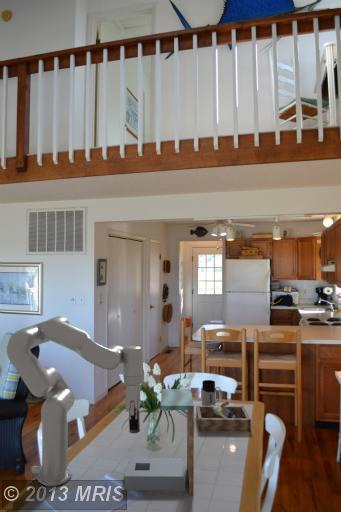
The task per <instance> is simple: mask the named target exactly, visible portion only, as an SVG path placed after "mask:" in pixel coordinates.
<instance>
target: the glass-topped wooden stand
mask: <svg viewBox="0 0 341 512" xmlns="http://www.w3.org/2000/svg"><path fill="white" fill-rule="evenodd" d="M160 394H161V395H160V411H186V415H187V416H186V470H187V471H186V473H187V474H186V475H187V482H188V483H187V485H188V486H187V487H188V495H189V496H194V489H195V487H194V484H195V482H194V481H195V479H194V473H195V472H194V465H195V464H194V459H195V458H194V453H195V451H194V448H195V445H194V441H195V437H194V436H195V434H194V433H195V431H194V429H195V427H194V425H195V409H194V408H195V405H194V399H193V398H194V397H193V393H192V389H191V388H189V389H188V388H162V389H161V393H160Z"/></svg>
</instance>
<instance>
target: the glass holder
mask: <svg viewBox="0 0 341 512" xmlns="http://www.w3.org/2000/svg"><path fill="white" fill-rule="evenodd" d="M201 384H202V386H201V387H202V388H201V406H211V405H215V406H216V404H217V403H218V402H220V399H221V395H222V389H221V388H220V386H216V381H214V380H211V379H205V380H204V379H203V380H202V383H201ZM217 389H218V390H219V396H218V398H217V400H216V392H217Z"/></svg>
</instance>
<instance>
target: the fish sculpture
mask: <svg viewBox="0 0 341 512" xmlns="http://www.w3.org/2000/svg"><path fill="white" fill-rule="evenodd" d="M224 406H230V402H228V401H225V402H222V404H220V405H216V404H215V405H211V407H212V408H213V409H214V413H215V414H217V415H216V416H215V418H220V417H221V418H236V417H235V416H234V414H233V413H232V412H230V411H229V410H227V409H226V408H224Z"/></svg>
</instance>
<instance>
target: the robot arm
mask: <svg viewBox="0 0 341 512" xmlns="http://www.w3.org/2000/svg"><path fill="white" fill-rule="evenodd" d="M49 342H53V343H55V344H57V345H60V346H62V347H64V348H66V349H69V350H71V351H73V352H75V353H76V354H77V355H78V356H80V357H81V358H82V359H84V360H85V361H86V362H89V363H90V364H92V365H94V366H96V367H98V368H101V369H103V370H107V371H113V370H115V369H117V368H118V367H119V365H121V364H122V365H123V367H122V368H123V370H122V372H123V375H122V376H123V385H125V411H126V412H127V413H129V409H130V419H129V418H128V427H129V426H130V430H138V419H137V411H138V410H139V411H140V405H141V385H142V384H144V366H143V363H144V362H143V359H144V358H143V349H142V347H141V346H137V345H128V346H126V345H125V346H124V345H110V346H109V347H108V348H107V347H104V346H103V345H100V344H99V343H97V342H96V341H94V339H92V338H91V337H90V335H89V334H88V333H87V332H86V331H85V330H83V329H81V328H79V327H76V326H74V325H72V324H70V322H69V320H68V319H67V318H66V317H63V316H55V317H52V318H49V319H47V320H44V321H41V322H39V323H36V324H32V325H30V326H27V327H24V328H23V327H22V328H21V329H19V330H16V332H14V333H13V334H12V335H11V336H10V338H9V339H8V341H7V345H6V354H7V355H6V356H7V358H8V360H9V362H10V363H11V365H12V366H13V368H14V369H15V370H16V372H17V373H18V374H19V376H20V378H21V380H22V381H23V383H24V384H25V386H26V387H27V388H28V390H29V391H30V393H31V394H32V395H33V396H34V397H36V398H41V397H44V396H47V398H46V399H45V401H44V402H43V404H42V405H41V408H40V417H41V425H42V426H41V428H42V431H41V433H42V435H41V436H42V438H41V440H42V443H41V444H42V445H41V450H42V451H41V464H40V465H32V466H31V468H30V471H31V474H32V475H37V480H38V481H39V482H40V483H42V484H43V485H45V486H44V487H56V486H60V485H64V484H66V483H67V482H68V481H70V479H71V477H72V471H71V470H70V469H69V468H68V458H69V457H68V453H69V451H68V449H69V448H68V447H69V446H68V445H69V444H68V443H69V425H68V424H69V423H68V416H67V415H68V413H69V411H70V410H71V409H72V407H73V406H74V405H75V395H74V393H73V390H72V389H71V387H70V386H69V385H68V382H66V380H65V379H64V377H63V376H62V374H61V373H60V372H59V370H58V369H57V368H55V367H53V366H43V364H42V363H41V362H40V360H39V359H38V357H37V356H36V355H35V354H33V353H32V351H31V349H33V348H35V347H37V346H39V345H42V344H44V343H49ZM134 403H135V405H134ZM134 409H136V410H134ZM134 412H135V414H134ZM38 481H37V482H38ZM43 485H42V486H43Z"/></svg>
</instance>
